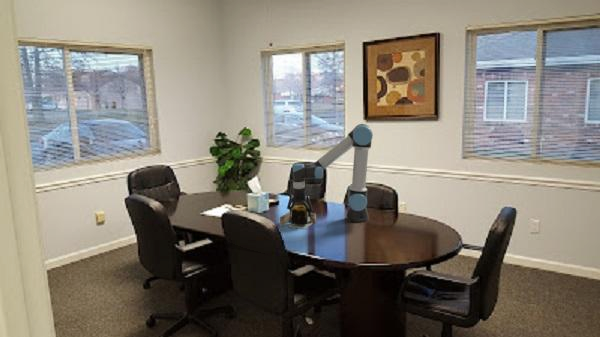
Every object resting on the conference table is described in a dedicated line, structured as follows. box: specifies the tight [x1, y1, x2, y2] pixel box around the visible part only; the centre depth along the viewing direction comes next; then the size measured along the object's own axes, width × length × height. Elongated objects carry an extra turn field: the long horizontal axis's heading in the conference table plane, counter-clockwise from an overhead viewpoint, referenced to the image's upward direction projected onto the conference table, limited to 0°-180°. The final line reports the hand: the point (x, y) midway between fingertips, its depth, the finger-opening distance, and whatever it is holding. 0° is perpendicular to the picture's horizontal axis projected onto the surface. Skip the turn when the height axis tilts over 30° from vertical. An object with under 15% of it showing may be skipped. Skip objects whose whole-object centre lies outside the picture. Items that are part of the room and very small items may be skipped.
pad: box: [287, 222, 314, 230], centre depth 298 cm, size 12×12×1 cm
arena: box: [279, 211, 317, 227], centre depth 299 cm, size 19×15×6 cm
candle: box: [290, 204, 308, 225], centre depth 296 cm, size 10×10×10 cm
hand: (300, 220), depth 297 cm, fingers closed on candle, 11 cm apart
